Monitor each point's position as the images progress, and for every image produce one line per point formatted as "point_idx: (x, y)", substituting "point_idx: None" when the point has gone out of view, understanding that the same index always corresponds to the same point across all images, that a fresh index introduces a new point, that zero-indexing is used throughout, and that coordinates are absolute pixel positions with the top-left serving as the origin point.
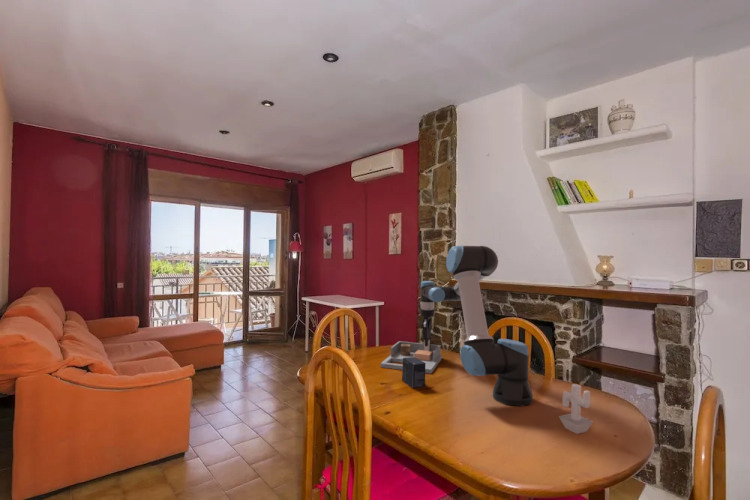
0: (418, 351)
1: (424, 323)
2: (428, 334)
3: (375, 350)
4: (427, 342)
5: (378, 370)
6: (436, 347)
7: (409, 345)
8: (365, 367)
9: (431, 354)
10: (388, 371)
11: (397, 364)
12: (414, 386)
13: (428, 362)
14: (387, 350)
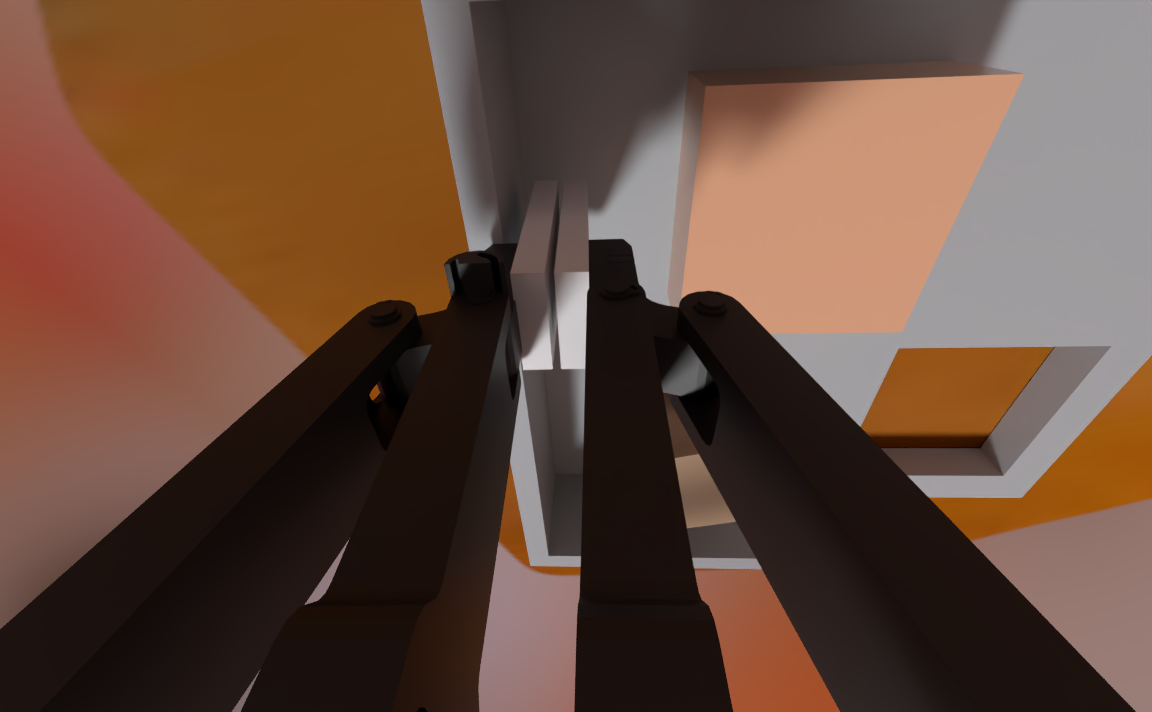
0: (771, 310)
1: None
2: (644, 377)
3: (551, 574)
4: (627, 274)
5: (1094, 461)
6: (488, 53)
7: (683, 462)
8: (995, 532)
9: (795, 77)
10: (1145, 399)
11: (1091, 388)
12: None
13: (1050, 47)
14: (507, 529)
